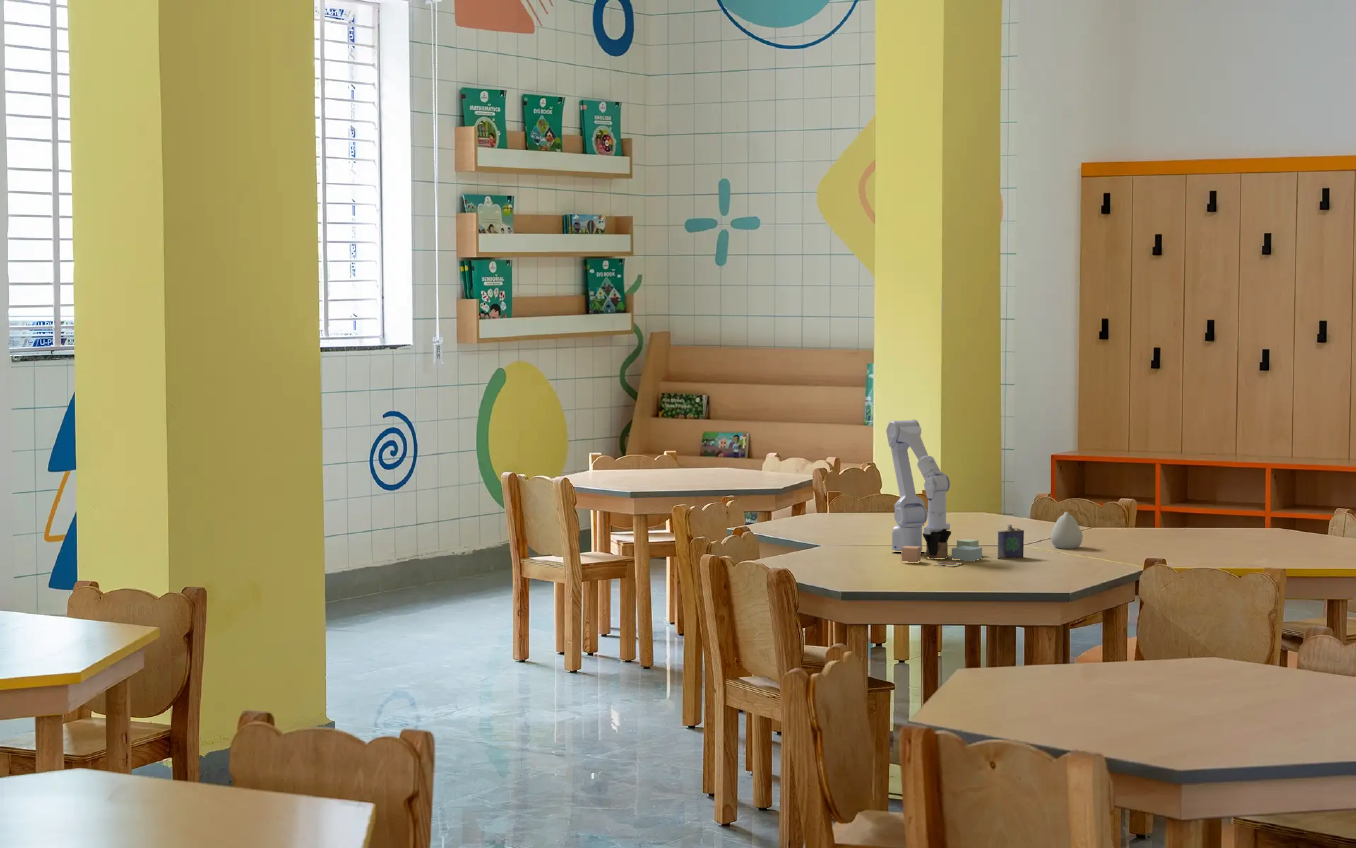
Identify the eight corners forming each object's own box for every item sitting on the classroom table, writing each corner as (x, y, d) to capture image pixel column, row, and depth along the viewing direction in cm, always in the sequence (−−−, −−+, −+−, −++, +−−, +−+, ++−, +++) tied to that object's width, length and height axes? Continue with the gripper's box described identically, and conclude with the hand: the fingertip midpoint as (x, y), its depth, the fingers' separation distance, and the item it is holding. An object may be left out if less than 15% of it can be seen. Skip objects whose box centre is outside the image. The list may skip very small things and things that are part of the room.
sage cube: (956, 555, 473) (956, 540, 473) (965, 554, 477) (965, 539, 477) (969, 557, 470) (969, 541, 469) (978, 555, 473) (978, 540, 473)
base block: (951, 560, 463) (951, 548, 463) (962, 558, 469) (962, 546, 468) (971, 562, 459) (971, 550, 459) (982, 560, 464) (982, 547, 464)
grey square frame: (933, 565, 453) (933, 563, 453) (943, 562, 458) (943, 560, 458) (953, 567, 448) (953, 564, 448) (963, 564, 454) (963, 562, 454)
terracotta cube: (901, 563, 457) (901, 547, 457) (905, 561, 462) (905, 545, 462) (917, 564, 456) (917, 548, 455) (920, 562, 460) (920, 546, 460)
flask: (1000, 559, 464) (1000, 526, 463) (995, 558, 466) (995, 525, 466) (1025, 557, 467) (1025, 524, 466) (1020, 556, 469) (1020, 523, 469)
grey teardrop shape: (1083, 550, 482) (1084, 514, 482) (1051, 549, 484) (1051, 513, 484) (1081, 546, 492) (1081, 510, 492) (1049, 545, 495) (1050, 510, 494)
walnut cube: (926, 559, 466) (926, 543, 466) (933, 557, 470) (933, 541, 470) (940, 560, 463) (940, 544, 463) (947, 558, 467) (947, 542, 467)
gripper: (938, 515, 458) (938, 557, 458) (958, 510, 469) (958, 552, 470) (917, 513, 462) (918, 556, 463) (938, 509, 473) (938, 550, 474)
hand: (937, 554), depth 467 cm, fingers closed on walnut cube, 5 cm apart
